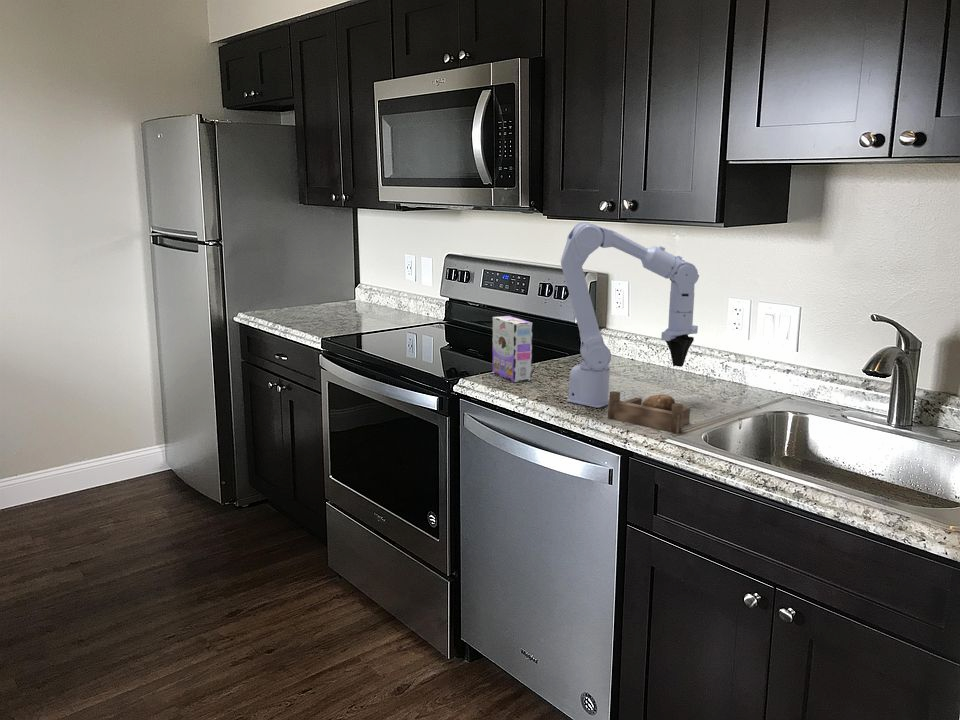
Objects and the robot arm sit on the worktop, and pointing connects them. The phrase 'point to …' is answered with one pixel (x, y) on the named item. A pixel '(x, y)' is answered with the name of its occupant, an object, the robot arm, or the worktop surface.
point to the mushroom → (660, 402)
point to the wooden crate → (647, 414)
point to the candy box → (512, 348)
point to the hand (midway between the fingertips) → (678, 365)
